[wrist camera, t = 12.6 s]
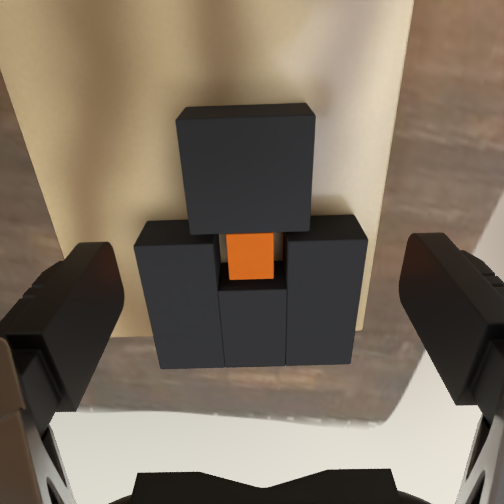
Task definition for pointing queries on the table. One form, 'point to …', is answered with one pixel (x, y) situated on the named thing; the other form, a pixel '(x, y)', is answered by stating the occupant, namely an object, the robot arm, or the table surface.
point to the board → (191, 95)
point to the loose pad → (247, 177)
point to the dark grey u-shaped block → (253, 297)
